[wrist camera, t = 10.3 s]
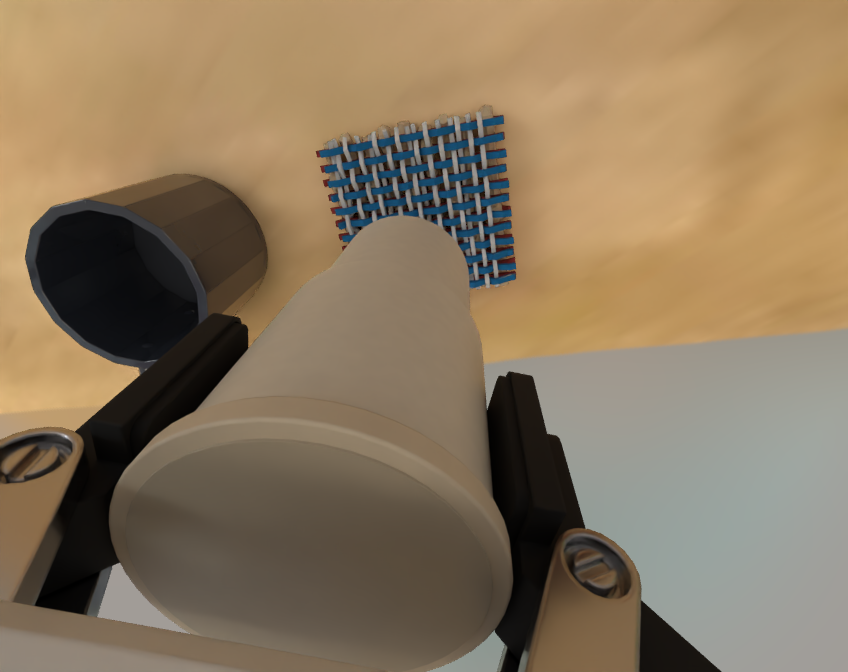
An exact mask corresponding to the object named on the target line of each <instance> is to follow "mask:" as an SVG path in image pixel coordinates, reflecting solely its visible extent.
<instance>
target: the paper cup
mask: <svg viewBox="0 0 848 672" xmlns="http://www.w3.org/2000/svg"><path fill="white" fill-rule="evenodd" d="M109 529H110V536H111V541H112V544H113V547H114V550H115V553H116V556H117V558H118V560H119V561H120V563H121V565H122V567H123V569H124V571H125V572H126V574H127V575H128V577H129V578H130V580H131V581H132V582H133V584H134V585H135V587H136V588H137V589H138V590H139V591H140V592H141V593H142V595H143V596H144V597H145V598H146V599H147V600H148V601H149V602H150V603H151V604H152V605H153V606H154V607H156V608H157V609H158V610H159V611H160V612H161V613H162V614H163V615H165V616H166V617H167V618H168V619H170V620H171V621H173V622H174V623H175V624H177V625H178V626H179V627H181V628H182V629H184V630H185V631H187V632H189V633H190V634H192V635H198V636H203V637H209V638H214V639H220V640H225V641H230V642H236V643H241V644H247V645H252V646H258V647H263V648H268V649H274V650H279V651H284V652H290V653H295V654H301V655H306V656H311V657H317V658H322V659H328V660H333V661H338V662H344V663H349V664H354V665H360V666H365V667H370V668H375V669H381V670H386V671H391V672H427V671H430V670H433V669H436V668H439V667H442V666H444V665H446V664H449V663H451V662H453V661H455V660H457V659H459V658H461V657H462V656H464V655H466V654H467V653H469V652H471V651H472V650H474V649H475V648H476V647H477V646H479V645H480V644H481V643H482V642H484V641H485V640H486V639H487V638H488V636H489V635H490V634H491V633H492V632H493V631H494V630H495V629H496V628H497V626H498V624H499V623H500V621H501V619H502V618H503V616H504V614H505V612H506V609H507V606H508V604H509V601H510V598H511V593H512V586H513V570H512V559H511V549H510V539H509V536H508V532H507V529H506V525H505V521H504V519H503V517H502V515H501V513H500V511H499V509H498V507H497V505H496V503H495V501H494V500H493V487H492V474H491V460H490V447H489V433H488V420H487V408H486V393H485V379H484V366H483V353H482V343H481V339H480V335H479V332H478V329H477V327H476V324H475V322H474V320H473V318H472V316H471V315H470V288H469V271H468V266H467V262H466V259H465V257H464V254H463V252H462V250H461V249H460V247H459V245H458V244H457V243H456V241H455V240H454V239H453V238H452V237H451V236H450V235H449V234H448V233H447V232H446V231H445V230H443V229H442V228H441V227H439V226H438V225H436V224H434V223H432V222H430V221H427V220H425V219H422V218H418V217H413V216H390V217H386V218H382V219H379V220H377V221H375V222H372V223H371V224H369V225H367V226H366V227H364V228H363V229H362V230H361V231H360V232H358V234H357V235H356V236H355V237H354V238H353V239H352V240H351V242H350V243H349V244H348V246H347V247H346V248H345V249H344V251H343V252H342V253H341V255H340V256H339V257H338V258H337V260H336V261H335V262H334V264H333V265H332V266H331V267H330V269H327V270H325V271H323V272H321V273H319V274H318V275H316V276H314V277H313V278H311V279H310V280H309V281H308V282H306V283H305V284H304V285H303V286H302V287H301V288H300V289H299V290H298V291H297V292H296V293H295V294H294V296H293V297H292V298H291V299H290V300H289V302H288V303H287V304H286V305H285V306H284V307H283V309H282V310H281V311H280V312H279V313H278V314H277V316H276V317H275V318H274V319H273V320H272V321H271V323H270V324H269V325H268V326H267V327H266V328H265V330H264V331H263V332H262V333H261V334H260V336H259V337H258V338H257V339H256V340H255V341H254V343H253V344H252V345H251V346H250V347H249V348H248V350H247V351H246V352H245V353H244V354H243V355H242V357H241V358H240V359H239V360H238V361H237V362H236V364H235V365H234V366H233V367H232V368H231V370H230V371H229V372H228V373H227V374H226V375H225V377H224V378H223V379H222V380H221V381H220V382H219V384H218V385H217V386H216V387H215V388H214V389H213V391H212V392H211V393H210V394H209V395H208V397H207V398H206V399H205V400H204V401H203V402H202V404H201V405H200V406H199V407H198V408H197V409H196V411H195V412H193V413H191V414H189V415H187V416H185V417H183V418H181V419H179V420H177V421H176V422H174V423H172V424H170V425H169V426H168V427H166V428H165V429H164V430H163V431H161V432H160V433H159V434H157V435H156V436H155V437H154V438H153V439H152V440H151V441H150V442H149V443H148V445H147V446H146V447H145V448H144V449H143V450H142V451H141V452H140V453H139V454H138V456H137V457H136V458H135V459H134V460H133V461H132V462H131V463H130V465H129V466H128V467H127V468H126V469H125V470H124V472H123V474H122V475H121V477H120V479H119V481H118V483H117V484H116V486H115V489H114V493H113V496H112V500H111V503H110V509H109Z"/></svg>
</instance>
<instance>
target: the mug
mask: <svg viewBox="0 0 848 672" xmlns="http://www.w3.org/2000/svg"><path fill="white" fill-rule="evenodd" d="M25 260H26V264H27V268H28V272H29V276H30V279H31V283H32V287H33V290H34V292H35V294H36V295H37V297H38V298H39V300H40V301H41V303H42V304H43V306H44V307H45V309H46V310H47V312H48V313H49V315H50V316H51V318H52V319H53V321H55V323H56V324H57V325H58V326H59V327H60V328H62V329H63V330H64V331H65V332H66V333H67V334H68V335H70V336H71V337H72V338H73V339H74V340H75V341H76V342H77V343H79V344H80V345H81V346H83V347H84V348H86V349H88V350H90V351H92V352H94V353H96V354H98V355H100V356H102V357H104V358H106V359H108V360H110V361H112V362H114V363H117V364H123V365H128V366H133V367H138V368H139V374H140V375H141V374H142V373H143V372H144V371H146V370H147V369H148V368H149V367H150V366H151V365H153V364H154V363H155V362H156V361H157V360H158V359H160V358H161V357H162V356H163V355H164V354H165V353H167V352H168V351H169V350H170V349H171V348H172V347H174V346H175V345H176V344H177V343H178V342H179V341H180V340H182V339H183V338H184V337H185V336H186V335H187V334H189V333H190V332H191V331H192V330H193V329H194V328H196V327H197V326H198V325H199V324H200V323H201V322H203V321H204V320H205V319H206V318H207V317H208V316H210V315H211V314H212V313H219V314H224V315H229V316H233V315H234V314H235V313H236V312H237V311H238V310H239V309H240V308H241V307H242V306H243V305H244V304H245V303H246V302H247V301H248V300H249V299H250V298H251V297H252V296H253V295H254V294H255V292H256V291H257V289H258V288H259V286H260V285H261V283H262V281H263V279H264V276H265V273H266V268H267V248H266V243H265V239H264V236H263V233H262V231H261V229H260V226H259V224H258V222H257V221H256V219H255V217H254V216H253V214H252V213H251V212H250V210H249V209H248V208H247V206H246V205H245V204H244V203H243V202H242V201H241V200H240V199H239V198H238V197H237V196H235V195H234V194H233V193H232V192H230V191H229V190H228V189H226V188H225V187H223V186H221V185H220V184H218V183H216V182H214V181H211V180H209V179H207V178H204V177H200V176H196V175H190V174H172V175H167V176H163V177H159V178H155V179H151V180H147V181H143V182H140V183H136V184H132V185H129V186H125V187H121V188H118V189H114V190H110V191H107V192H103V193H99V194H95V195H92V196H88V197H84V198H81V199H77V200H73V201H70V202H66V203H62V204H59V205H55V206H53V207H51V208H50V209H49V210H48V211H47V212H46V213H45V214H44V215H43V216H42V217H41V218H40V219H39V220H38V221H37V222H36V223H35V224H34V225H33V226H32V227H31V229H30V234H29V239H28V244H27V250H26V255H25Z"/></svg>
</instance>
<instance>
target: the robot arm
mask: <svg viewBox="0 0 848 672" xmlns="http://www.w3.org/2000/svg"><path fill="white" fill-rule="evenodd" d="M247 350H248V328H247V326H246V325H244V324H241V320H240V318H239V317H234V316H229V315H224V314H219V313H212V314H211V315H210V316H208V317H207V318H206V319H205V320H204V321H203V322H201V323H200V324H199V325H198V326H197V327H196V328H194V329H193V330H192V331H191V332H190V333H189V334H187V335H186V336H185V337H184V338H183V339H182V340H180V341H179V342H178V343H177V344H176V345H175V346H174V347H172V348H171V349H170V350H169V351H168V352H167V353H165V354H164V355H163V356H162V357H161V358H160V359H158V360H157V361H156V362H155V363H154V364H153V365H151V366H150V367H149V368H148V369H147V370H146V371H144V372H143V373H142V374H141V375H140V376H139V377H138V378H136V379H135V380H134V381H133V382H132V383H131V384H129V385H128V386H127V387H126V388H125V389H124V390H122V391H121V392H120V393H119V394H118V395H117V396H115V397H114V398H113V399H112V400H111V401H110V402H109V403H107V404H106V405H105V406H104V407H103V408H102V409H100V410H99V411H98V412H97V413H96V414H95V415H94V416H92V417H91V418H90V419H89V420H88V421H87V422H86V423H84V424H83V425H82V426H81V427H80V428H79V429H77V430H76V431H75V432H74V431H72V430H69V429H65V428H61V427H60V428H59V427H43V428H35V429H29V430H26V431H22V432H18V433H15V434H12V435H10V436H8V437H5V438H3V439H1V440H0V672H391V671H386V670H381V669H375V668H370V667H365V666H360V665H354V664H349V663H344V662H338V661H333V660H328V659H322V658H317V657H311V656H306V655H301V654H295V653H290V652H284V651H279V650H274V649H268V648H263V647H258V646H252V645H247V644H241V643H236V642H230V641H225V640H220V639H214V638H209V637H203V636H198V635H192V634H187V633H181V632H176V631H171V630H165V629H159V628H154V627H148V626H143V625H137V624H132V623H126V622H121V621H115V620H109V619H104V618H98V617H97V616H98V613H99V609H100V606H101V603H102V599H103V596H104V593H105V590H106V587H107V583H108V580H109V577H110V573H111V570H112V566H113V565H115V564H117V563H120V561H119V560H118V558H117V556H116V553H115V550H114V547H113V544H112V541H111V536H110V529H109V509H110V503H111V500H112V496H113V493H114V489H115V486H116V484H117V483H118V481H119V479H120V477H121V475H122V474H123V472H124V470H125V469H126V468H127V467H128V466H129V465H130V463H131V462H132V461H133V460H134V459H135V458H136V457H137V456H138V454H139V453H140V452H141V451H142V450H143V449H144V448H145V447H146V446H147V445H148V443H149V442H150V441H151V440H152V439H153V438H154V437H155V436H156V435H157V434H159V433H160V432H161V431H163V430H164V429H165V428H166V427H168V426H169V425H170V424H172V423H174V422H176V421H177V420H179V419H181V418H183V417H185V416H187V415H189V414H191V413H193V412H195V411H196V409H197V408H198V407H199V406H200V405H201V404H202V402H203V401H204V400H205V399H206V398H207V397H208V395H209V394H210V393H211V392H212V391H213V389H214V388H215V387H216V386H217V385H218V384H219V382H220V381H221V380H222V379H223V378H224V377H225V375H226V374H227V373H228V372H229V371H230V370H231V368H232V367H233V366H234V365H235V364H236V362H237V361H238V360H239V359H240V358H241V357H242V355H243V354H244V353H245V352H246V351H247ZM487 420H488V433H489V447H490V460H491V474H492V487H493V500H494V501H495V503H496V505H497V507H498V509H499V511H500V513H501V515H502V517H503V519H504V521H505V525H506V529H507V532H508V536H509V539H510V549H511V559H512V570H513V586H512V593H511V598H510V601H509V604H508V606H507V609H506V612H505V614H504V616H503V618H502V619H501V621H500V623H499V624H498V626H497V628H496V629H495V633H496V634H497V635H498V636H499V638H500V639H501V640H502V641H503V642H504V644H505V645H504V649H503V652H502V656H501V659H500V663H499V666H498V669H497V672H721V671H720V670H719V669H718V668H717V667H716V666H714V665H713V664H712V663H711V662H710V661H709V660H708V659H707V658H705V657H704V656H703V655H702V654H701V653H700V652H699V651H697V650H696V649H695V648H694V647H693V646H692V645H691V644H690V643H689V642H688V641H686V640H685V639H684V638H683V637H681V635H680V634H679V633H677V632H676V631H675V630H674V629H673V628H672V627H671V626H669V625H668V624H667V623H666V622H665V621H664V620H663V619H662V618H660V617H659V616H658V615H657V614H656V613H655V612H654V611H653V610H651V608H649V607H648V606H647V605H646V604H645V603H644V602H643V601H641V582H640V577H639V573H638V571H637V569H636V567H635V565H634V563H633V561H632V560H631V559H630V558H629V556H628V555H627V554H626V552H625V551H624V550H623V549H622V548H621V547H619V546H618V545H617V544H616V543H615V542H614V541H612V540H611V539H609V538H607V537H606V536H604V535H603V534H601V533H598V532H595V531H592V530H590V529H585V525H584V522H583V518H582V515H581V511H580V507H579V504H578V501H577V497H576V493H575V490H574V486H573V483H572V479H571V476H570V472H569V469H568V465H567V462H566V458H565V455H564V451H563V448H562V444H561V442H560V439H559V438H558V437H557V436H556V435H550V434H547V432H546V428H545V423H544V419H543V415H542V412H541V407H540V403H539V399H538V395H537V391H536V387H535V383H534V379H533V377H532V376H530V375H525V374H520V373H514V372H508V374H507V375H506V377H504V376H499V377H498V379H497V381H496V384H495V388H494V391H493V394H492V397H491V400H490V403H489V406H488V410H487Z"/></svg>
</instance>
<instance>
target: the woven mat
mask: <svg viewBox="0 0 848 672" xmlns="http://www.w3.org/2000/svg"><path fill="white" fill-rule="evenodd" d="M476 117H477V120H474V121H471V118H470V113H468V114H466V115H465V117H462V118H459V116H454V123H455V124H453V122H452V117H451V118H448V117H447V114H446V113H445V114H442V115H439V117H438V119H437V120H435V125H436V128H432V129H431V125H427V123H426V121H425V122H423V123H422V125H421V126H420V127H418V129H419V131H416V128H415V124H414V123H413V124H410V123H409V121H401V122H399V123H397V124H398V127H394V135H395V136H391V135H390V127H387V126H385V125H382V126H380V127H379V128H378V136H379V138H378V139H377V138H376V132H375V131H374V132H372V133H371V135H367V136H365V137H362V141H363V142H361V141H360V139H359V136H354V138H355V141H356V143H354V144H353V141H352V139H351V137H350V135H349V134H348V133H344V134H341V136H340V139H339V142H340V144H341V145H342V146H339V147H338V144H337V142H336V139H332V141H328V142H327V144H324V150H319V151H316V154H317V157H321V158H323V157H326V158H327V163H328V165H324V166H320V167H321V171H322V173H323V172H325V173H329V179H327V180H323V183H324V186H325V187H327V186H329V188H332V189H333V191H334V193H335V194H330V195H328V197H329V201H332V202H337V201H338V204H339V207H334V208H331V211H332V214H336V215H342V220H337V221H336V226H337V227H339V229H341V230H342V229H344V228H345V230H346V233H342V234H339V238H340V240H343V242H349V243H350V242H351V240H352V239H353V238H354V237H355V236H356V235H357V234H358V232H360V231H361V230H359V229H358V227H357V226H361V228H362V229H363V228H364V227H366V226H367V225H369V224H371V223H372V222H375V221H377V220H379V219H382V218H386V217H390V216H413V217H418V218H422V219H425V220H426V216H425V215H427V221H430V222H432V223H434V224H436V225H438V226H439V227H441V228H442V229H443V230H445V231H446V232H447V233H448V234H449V235H450V236H451V237H452V238H453V239H454V240H455V241H456V243H457V244H458V245H459V247H460V249H461V250H462V252H463V254H464V257H465V259H466V262H467V266H468V271H469V288H470V290H471V289H473V288H476V289H480V286H483V287H485V286H486V288H490V284H492V285H495V287H499V284H500V285H501V286H505V285H507V284H509V281H511V280H515V279H516V272H515V271H511V272H508V271H507V270H513V269H516V263H515V257H514V258H509V259H506V256H510V255H513V254H514V248H513V246H508V247H505V245H508V244H514V238H513V237H512V234H504V230H505V229H511V228H512V227H511V226H512V225H511V220H507V221H503V217H510V216H512V214H511V207H510V206H502V204H501V202H505V201H508V200H509V193H503V194H500V189H502V188H508V187H509V180H508V178H504V179H499V174H498V173H501V172H505V171H507V168H506V164H500V165H498V164H497V158H503V157H507V155H506V150H505V148H504V149H496V142H497V141H501V140H504V139H505V137H504V132H500V133H495V132H494V128H495V127H494V125H499V124H504V117H503V115H500V116H493V112H492V106H490V105H484V106H483V107H482V108H481V109H480V112H476ZM410 127H411V129H410ZM477 128H478V136H479V137H474V138H473V133H472V130H473V129H477ZM398 129H399V130H398ZM411 131H412V132H411ZM455 132H456V140H457V141H455V139H454V133H455ZM399 134H400V135H399ZM434 136H437V138H438V144H433V143H432V137H434ZM418 139H420V147H418ZM413 143H414V146H413ZM393 144H396V147H397V150H398V152H395V151H394V147H393ZM401 145H402V147H401ZM477 145H480V152H475V151H474V146H477ZM378 147H380V148H381V150H382V153H383V154H382V155H380V152H379V149H378ZM363 150H364V151H365V156H366V158H364V155H363ZM456 150H458V155H459V156H457V154H456ZM356 151H358V155H359V159H357V155H356ZM438 152H440V157H441V159H439V160H436V159H435V155H434V154H435V153H438ZM340 154H345V156H346V160H347V161H345V162H342V161H341V155H340ZM421 155H422V158H423V161H424V162H423V163H422V162H421V158H420V156H421ZM396 160H400V167H398V166H397V161H396ZM404 160H405V161H404ZM416 161H417V163H416ZM480 161H482V168H477V169H476V163H477V162H480ZM383 162H386V167H387V169H384V167H383ZM459 164H460V169H461V171H459V169H458V165H459ZM365 165H367V166H368V171H369V172H368V171H367V169H366V166H365ZM359 167H361V169H362V172H363V173H362V174H361V172H360V168H359ZM441 168H442V171H443V174H442V175H438V172H437V169H441ZM348 169H349V172H350V176H345V173H344V170H348ZM423 171H426V175H427V177H425V178H424V173H423ZM418 172H419V175H418ZM340 175H341V177H340ZM401 175H402V177H403V180H404V181H402V182H400V177H399V176H401ZM407 176H408V178H407ZM419 176H420V178H419ZM478 177H483V179H484V182H480V183H478ZM386 178H389V182H390V183H387V180H386ZM380 179H382V184H381V182H380ZM460 181H462V183H463V185H462V186H461V183H460ZM363 182H365V183H366V187H364V185H363ZM441 183H444V185H445V189H440V185H439V184H441ZM349 184H352V186H353V189H354V190H350V191H349V187H348V185H349ZM426 186H428V187H429V191H426ZM420 187H421V188H422V191H420ZM404 190H405V192H406V194H405V195H403V192H402V191H404ZM483 191H485V196H483V197H480V194H479V193H480V192H483ZM390 192H392V196H393V197H392V196H391V194H390ZM384 194H385V195H386V197H387V198H386V199H385V195H384ZM462 194H464V198H462ZM366 196H368V198H369V202H367V198H366ZM442 198H447V202H443V203H442ZM351 199H356V201H357V204H352V200H351ZM428 200H431V205H430V204H429V202H428ZM423 201H424V203H425V206H424V204H423ZM406 204H408V208H409V209H406V208H405V205H406ZM388 206H389V212H388V209H387V207H388ZM393 206H395V211H394V210H393ZM481 206H484V207H485V206H486V208H487V209H484V210H481ZM376 210H377V212H378V214H377V213H376ZM464 210H466V213H465V214H464ZM369 211H372V214H369ZM447 211H448V212H449V216H448V217H444V212H447ZM356 212H358V216H356V217H353V214H354V213H356ZM431 214H433V217H434V219H432V217H431ZM487 219H488V223H487V224H483V221H485V220H487ZM466 222H467V223H468V226H467V227H466ZM446 226H451V228H446ZM484 234H489V235H490V236H487V235H484ZM468 237H469V238H468ZM347 246H348V245H347ZM347 246H343V247H342V249H343V251H344V249H345V248H346V247H347ZM490 246H491V249H488V250H486V248H488V247H490ZM470 248H471V252H470ZM487 260H492V262H487ZM472 263H473V264H472ZM493 271H494V273H493V274H489V273H490V272H493Z"/></svg>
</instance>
